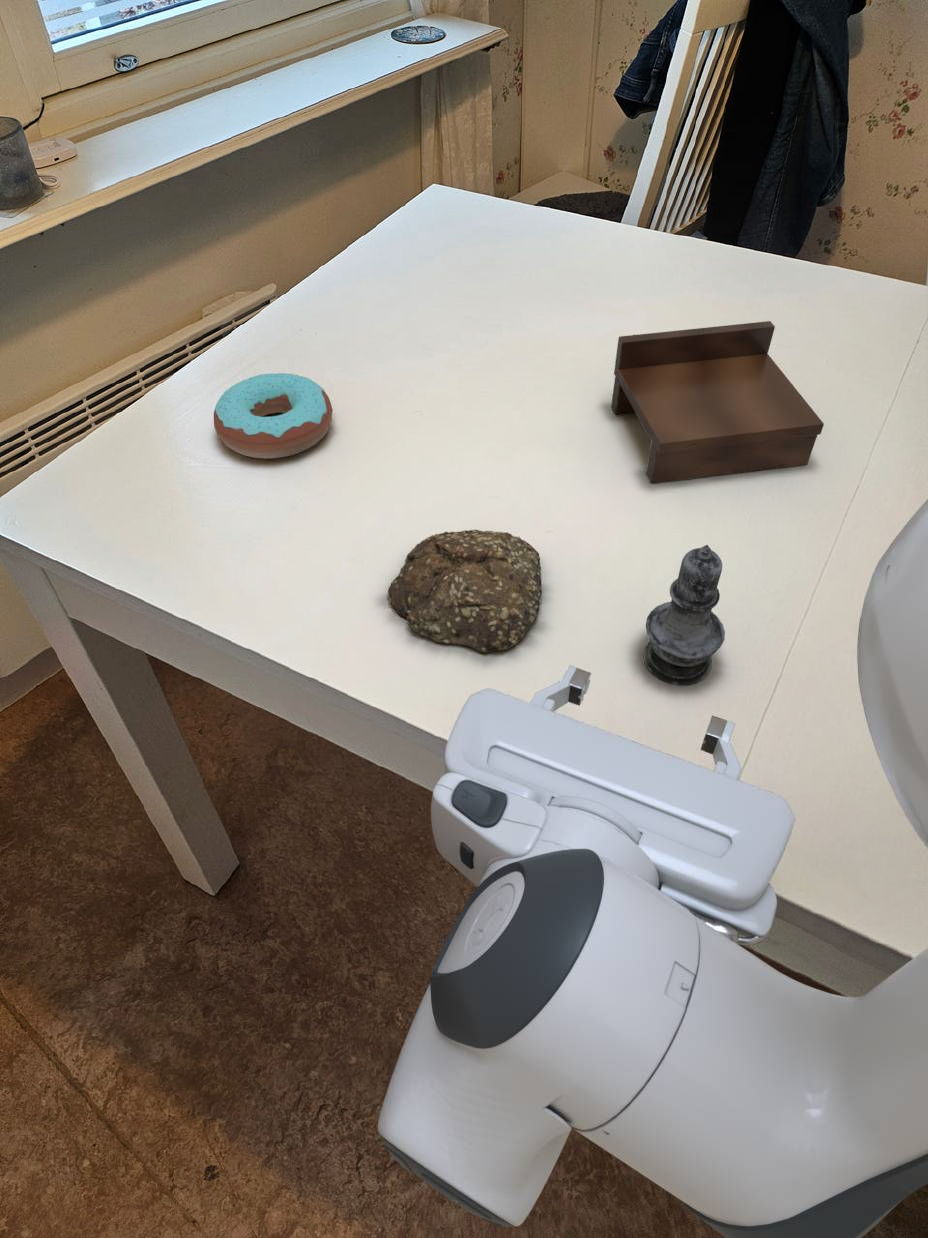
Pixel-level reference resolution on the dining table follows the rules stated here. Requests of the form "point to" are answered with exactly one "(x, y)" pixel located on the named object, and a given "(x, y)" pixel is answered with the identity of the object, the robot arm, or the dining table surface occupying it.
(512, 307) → the dining table surface
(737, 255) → the dining table surface
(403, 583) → the bread roll
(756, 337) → the shelf
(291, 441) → the donut
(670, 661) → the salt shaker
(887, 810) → the dining table surface
